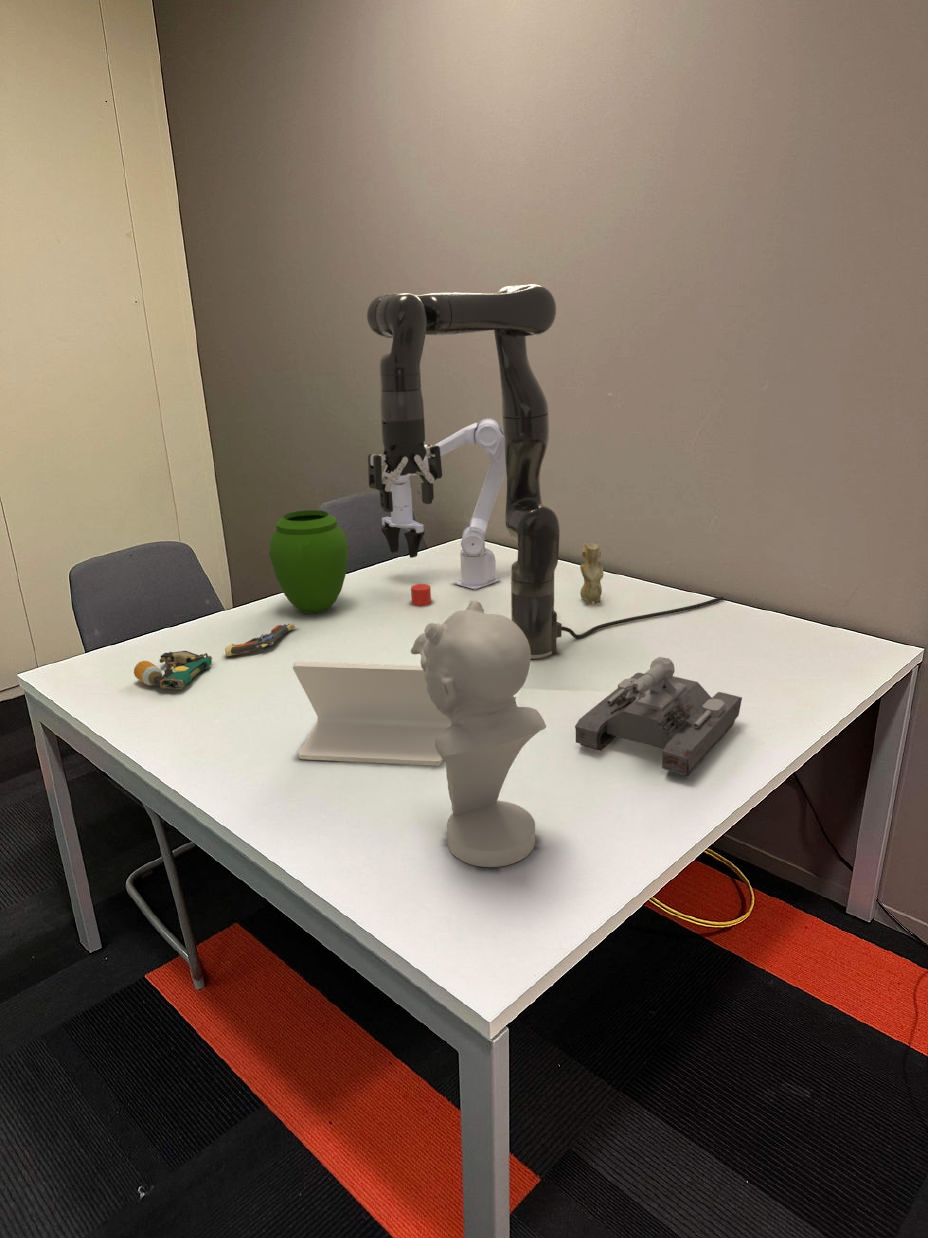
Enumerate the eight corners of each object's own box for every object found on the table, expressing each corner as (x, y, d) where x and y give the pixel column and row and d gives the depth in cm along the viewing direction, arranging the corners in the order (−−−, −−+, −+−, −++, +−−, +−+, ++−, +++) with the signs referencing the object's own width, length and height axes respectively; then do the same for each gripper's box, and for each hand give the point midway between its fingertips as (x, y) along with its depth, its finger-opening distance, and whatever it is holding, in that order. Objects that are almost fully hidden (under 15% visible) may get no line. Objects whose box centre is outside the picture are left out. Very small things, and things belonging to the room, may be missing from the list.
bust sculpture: (481, 772, 140) (476, 569, 128) (565, 848, 120) (569, 617, 108) (392, 800, 134) (378, 588, 121) (465, 886, 114) (457, 642, 101)
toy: (637, 695, 165) (641, 623, 160) (740, 721, 154) (747, 645, 149) (574, 750, 146) (575, 670, 141) (685, 784, 135) (691, 699, 130)
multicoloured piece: (177, 659, 191) (231, 671, 185) (120, 684, 176) (176, 698, 171) (176, 641, 190) (230, 653, 184) (118, 665, 175) (174, 678, 169)
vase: (368, 603, 220) (362, 511, 212) (318, 627, 205) (308, 529, 196) (311, 592, 230) (303, 503, 222) (259, 614, 215) (248, 520, 206)
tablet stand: (441, 765, 143) (437, 672, 137) (297, 759, 146) (287, 668, 140) (456, 716, 160) (453, 631, 154) (327, 711, 163) (319, 628, 157)
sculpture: (599, 596, 220) (601, 540, 215) (605, 605, 214) (607, 548, 208) (577, 597, 220) (578, 541, 215) (582, 606, 213) (583, 549, 208)
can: (418, 607, 217) (417, 591, 215) (408, 602, 221) (407, 586, 219) (434, 603, 220) (434, 587, 218) (424, 598, 223) (423, 582, 222)
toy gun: (221, 647, 188) (262, 644, 186) (256, 622, 206) (295, 619, 204) (223, 659, 189) (265, 656, 187) (258, 633, 207) (297, 630, 205)
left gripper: (372, 504, 229) (375, 552, 233) (408, 511, 219) (411, 562, 224) (391, 499, 233) (394, 547, 238) (428, 506, 224) (430, 556, 229)
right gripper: (423, 410, 155) (427, 497, 161) (356, 418, 147) (363, 510, 153) (448, 413, 150) (451, 504, 155) (379, 422, 142) (385, 518, 147)
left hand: (403, 554), depth 231 cm, fingers open, 7 cm apart
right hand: (407, 507), depth 154 cm, fingers open, 8 cm apart
